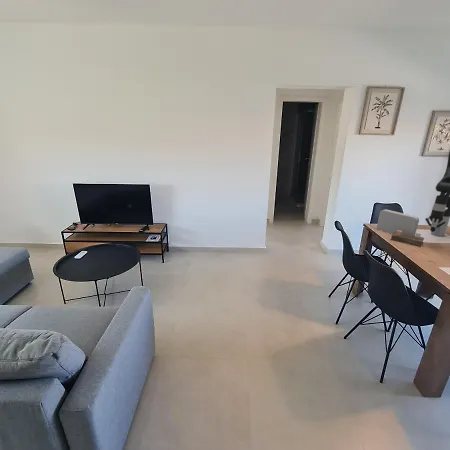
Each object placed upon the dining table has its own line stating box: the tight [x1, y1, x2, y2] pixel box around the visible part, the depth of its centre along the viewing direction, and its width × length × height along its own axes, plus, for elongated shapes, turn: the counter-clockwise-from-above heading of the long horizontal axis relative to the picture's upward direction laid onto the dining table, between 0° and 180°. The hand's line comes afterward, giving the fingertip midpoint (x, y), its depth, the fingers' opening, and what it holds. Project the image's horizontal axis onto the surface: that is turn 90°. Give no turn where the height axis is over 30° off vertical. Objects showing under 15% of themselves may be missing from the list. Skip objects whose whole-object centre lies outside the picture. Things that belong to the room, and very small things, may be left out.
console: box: [390, 231, 425, 248], centre depth 220 cm, size 12×20×4 cm, turn 49°
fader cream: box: [415, 231, 422, 238], centre depth 217 cm, size 3×3×4 cm
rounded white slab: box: [376, 209, 420, 236], centre depth 235 cm, size 29×8×18 cm, turn 36°
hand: (432, 231), depth 211 cm, fingers closed
